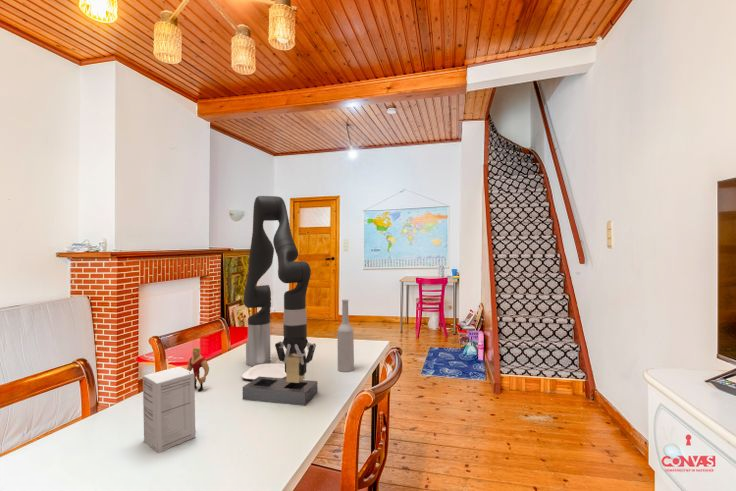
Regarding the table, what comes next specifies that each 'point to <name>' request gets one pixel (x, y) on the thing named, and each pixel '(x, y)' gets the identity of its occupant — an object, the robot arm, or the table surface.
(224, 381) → the table surface
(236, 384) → the table surface
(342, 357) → the bottle
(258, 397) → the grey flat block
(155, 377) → the supplement box
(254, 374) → the plate
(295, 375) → the brass peg
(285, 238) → the robot arm
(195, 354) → the action figure
